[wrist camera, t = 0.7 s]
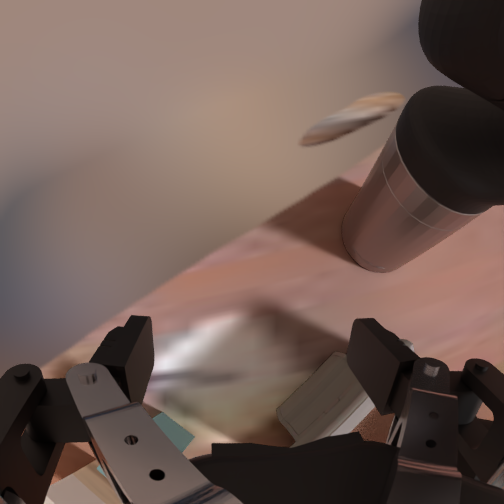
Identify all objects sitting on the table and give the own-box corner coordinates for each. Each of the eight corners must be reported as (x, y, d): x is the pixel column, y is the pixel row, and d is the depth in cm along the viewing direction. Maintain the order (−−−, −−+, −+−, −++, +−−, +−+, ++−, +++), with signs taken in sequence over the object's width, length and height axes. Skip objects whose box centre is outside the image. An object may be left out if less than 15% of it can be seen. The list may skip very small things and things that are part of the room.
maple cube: (97, 459, 28) (72, 473, 22) (133, 490, 26) (113, 510, 21) (80, 481, 26) (56, 496, 21) (114, 511, 25) (94, 530, 19)
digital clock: (289, 470, 27) (297, 517, 17) (243, 410, 29) (233, 441, 19) (407, 386, 29) (458, 399, 19) (368, 325, 31) (410, 317, 21)
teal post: (162, 411, 29) (119, 438, 19) (194, 436, 29) (164, 474, 18) (142, 437, 29) (96, 468, 18) (173, 461, 28) (137, 503, 17)
